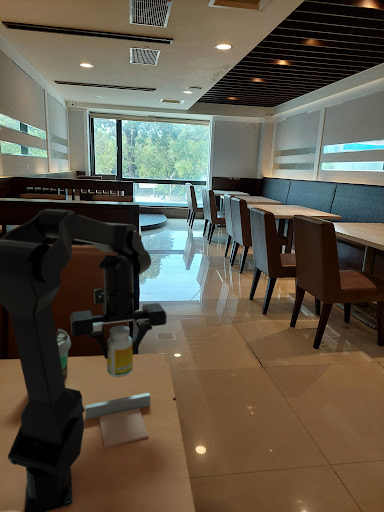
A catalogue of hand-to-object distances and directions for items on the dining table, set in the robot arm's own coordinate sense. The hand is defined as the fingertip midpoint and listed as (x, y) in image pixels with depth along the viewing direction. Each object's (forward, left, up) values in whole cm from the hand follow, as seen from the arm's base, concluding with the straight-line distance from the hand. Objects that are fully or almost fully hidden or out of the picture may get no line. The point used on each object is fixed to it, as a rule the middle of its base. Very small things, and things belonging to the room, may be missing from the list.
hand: (119, 355), depth 72 cm
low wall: (-4, +1, -10) cm, 11 cm away
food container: (+11, +13, -10) cm, 20 cm away
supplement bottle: (0, 0, -4) cm, 4 cm away
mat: (-9, +1, -10) cm, 14 cm away
